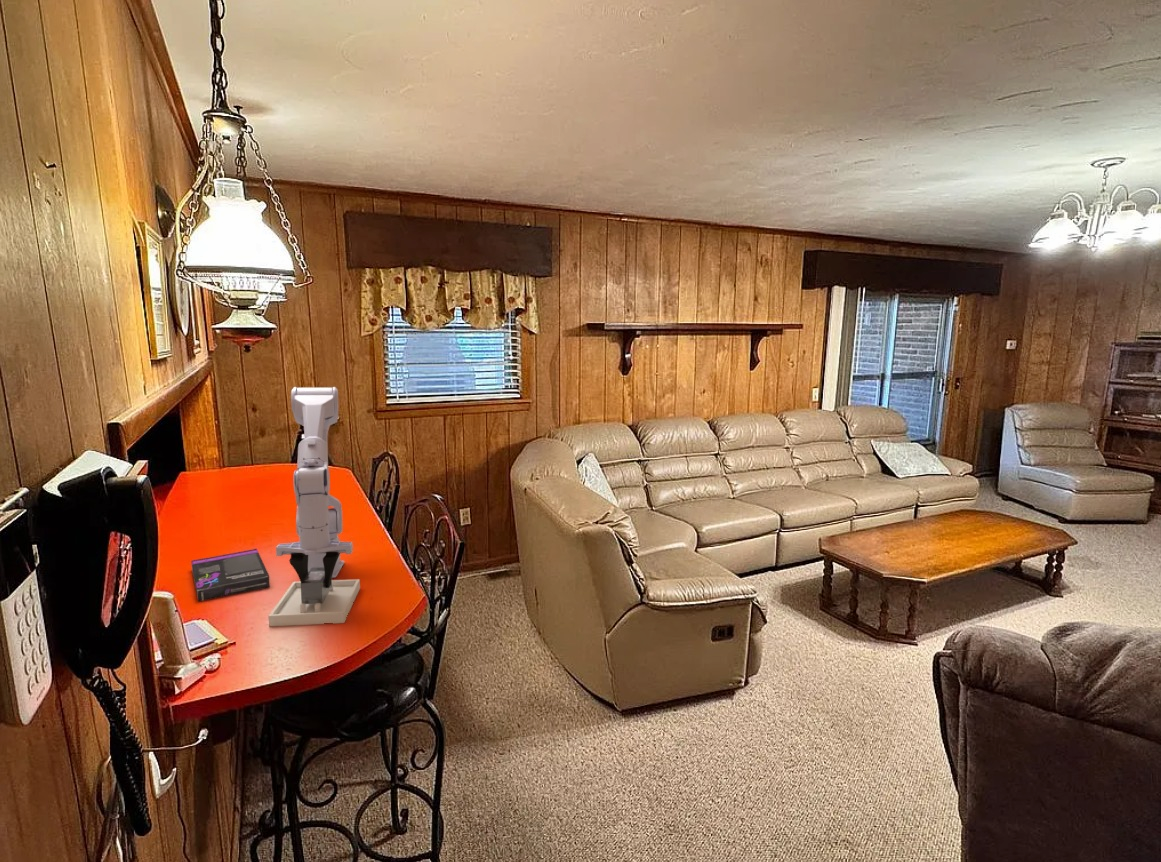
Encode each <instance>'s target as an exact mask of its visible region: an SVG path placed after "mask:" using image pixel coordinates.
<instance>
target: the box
mask: <svg viewBox="0 0 1161 862" xmlns="http://www.w3.org/2000/svg"><path fill="white" fill-rule="evenodd" d="M190 563H191V564H190V565H191V571H192V578H193V583H194V588H195V592H196V597H197V601H198V602H203V601H204V602H205V601H208V600H213V599H219V598H223V597H228V596H232V595H238V594H243V593H247V592H253V591H258V590H262V588H264V589H267V588H268V587H269V588H270V584H271V583H270V575H269V572H268V570H267V568H266V566H265V564H264V561H263V560H262V557H261V555H260V553H259V551H258V549H257V548H253V549H248V550H247V549H246V550H243V551H242V550H241V551H237V552H232V553H227V554H222V555H215V556H210V557H205V558H199V559H193V560H191V562H190Z"/></svg>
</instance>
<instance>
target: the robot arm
mask: <svg viewBox="0 0 1161 862" xmlns="http://www.w3.org/2000/svg"><path fill="white" fill-rule="evenodd" d="M290 400H291V401H290V404H291V405H290V406H291V411H292V414H293V418H294V420H295V423H296V424H298V425H301V426H303V431H304V433H303V435H304V438H303V439H302V440H301V441H299V443H298V447H297V463H296V464H297V465H296V466H297V467H296V469H295V470H294V472H293V477H292V478H293V491H294V496H295V504H296V505H297V506H296V516H295V517H296V518H295V527H296V528H295V529H296V535H297V536H298V539H299V540H298V541H295V542H288V543H287V542H286V543H279V544H277V546H275V554H276V557H282V556H285V555H290V558H289V560H288V561H289V565H291V566H292V568H293V570H294V572H296V574H297V576H298V578H299V581H301V582H302V581H303V579H304V578H305V576H306V575H307V573H308V572H309V571H310V569H311V568H319V567H324V571H325V585H326V588H329V587H330V585H331V579H332V580H333V578H335V579H336V577H337V576H338V575H339V573H340V571H341V570H342V567H343V566H344V564H345V560H341V554H346V555H351V554H352V553H353V550H354V546H353V544H354V543H353V541H341V540H340V537H339V535H341V533H342V532H343V526H344V525H343V509H342V502H341V501H340V500H339V499H338V498H336V497H335V496H333V495H331V494H330V490H331V481H330V480H331V477H330V476H331V475H330V470H329V454H328V453H329V448H328V447H329V446H328V445H329V444H328V433H329V429H330V427H331V426H332V425H334V424H336V423H338V419H339V406H340V405H339V390H338V388H337V387H336V386H333V387H297V386H293V388H292V389H291V392H290ZM330 507H331V508H330Z"/></svg>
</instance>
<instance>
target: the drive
mask: <svg viewBox="0 0 1161 862" xmlns="http://www.w3.org/2000/svg"><path fill="white" fill-rule="evenodd" d="M332 580H333V578H332V579H331V585H330V587H329V588H326V585H325V571H324V567H319V568H311V569H310V571H309V572H308V573H307V575H306V576H305V578H304V579H303V581H302V582H301V601H302V604H303V603H305V604H316V603H320V604H322V603H323V602H324V600H325V598H326V596H327V595H328V593H329V591H330V589H331V588H332Z"/></svg>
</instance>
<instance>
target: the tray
mask: <svg viewBox="0 0 1161 862" xmlns="http://www.w3.org/2000/svg"><path fill="white" fill-rule="evenodd" d="M360 582H361V581H360V579H359V578H358V579H332V588H331V589H330V591H329V593H328V595H327V596H326V598H325V600H324V602H323V603H322V604H320V603H316V604H305V603H303V604H302V601H301V581H300V580H299V581H293V582H292V583H291V584H290V586H289V587H288V588H287V590H286V591H285V593H284V594H283V596H282V597H280V600H279V601H278V602H277V603H276V605H275V606H274V607H273V609H272V610H271V612H270V613H269V615H268V627H281V626H282V627H284V626H285V627H286V626H305V625H306V626H308V625H325V624H324V623H333V624H345V622H346V620H347V618H348V616H349V614H350V611H351V609H352V607H353V605H354V603H355V601H356V598H357V596H358V595H359V592H360V589H361V583H360ZM353 602H354V603H353ZM348 613H349V614H348ZM347 615H348V616H347ZM346 617H347V618H346Z"/></svg>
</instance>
